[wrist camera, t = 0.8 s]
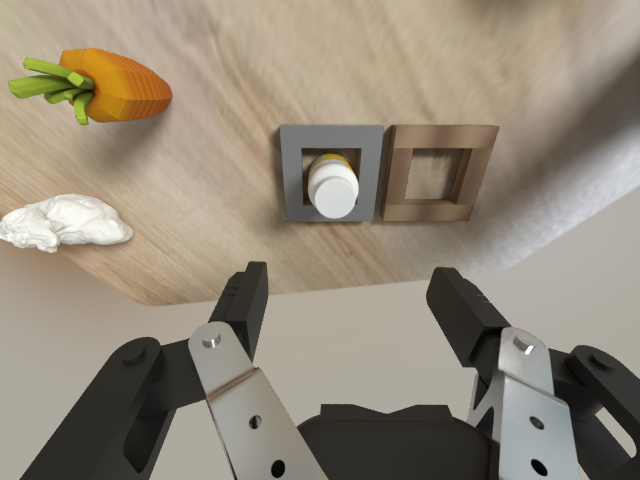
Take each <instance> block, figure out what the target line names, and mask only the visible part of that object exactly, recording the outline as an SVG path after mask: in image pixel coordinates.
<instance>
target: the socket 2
mask: <svg viewBox="0 0 640 480" xmlns="http://www.w3.org/2000/svg"><path fill="white" fill-rule="evenodd" d="M499 127H500V126H493V125H392V127H391V135H390V143H389V150H388V158H387V165H386V173H385V180H384V188H383V195H382V203H381V211H380V216H381V218H382V220H383V221H469V219H470V216H471V212H472V209H473V206H474V203H475V200H476V197H477V194H478V191H479V188H480V185H481V182H482V179H483V176H484V173H485V170H486V167H487V164H488V161H489V158H490V155H491V152H492V149H493V145H494V142H495V139H496V136H497V133H498V130H499ZM413 148H463V151H462V155H461V158H460V162H459V166H458V169H457V173H456V177H455V180H454V184H453V188H452V191H451V195H450V199H435V200H404V198H405V192H406V187H407V181H408V175H409V170H410V164H411V159H412V153H413Z"/></svg>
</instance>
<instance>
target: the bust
mask: <svg viewBox="0 0 640 480" xmlns="http://www.w3.org/2000/svg"><path fill="white" fill-rule="evenodd" d="M132 235H133V230H132V228H130V227H129V226H128V225H127V224H126V223H124V222H123V221H122V220H121V219H120V218H119V215H118V213H117V212H116V210H115V209H114V208H112V207H110V206H108V205H107V204H106V203H104V202H103V201H101V200H99V199H97V198H93V197H90V196H84V195H81V194H65V195H57V196H55V197H53V198H48V199H46V200H44V201H42V202H38V203H35V204H27V205H25V206H24V208H20V209H17V210H14V211H12V212H10V213H9V214H7V215H6V216H4V217H3V219H2V221H1V222H0V239H4V240H6V241H8V242H12V243H13V245H15V246H17V247H20V248H27V247H29V248H33V247H38V249H40V250H41V251H47V252H49V253H52V252H56V251H57V246H58V245H60V243H64V244H69V245H72V244H86V243H92V242H93V243H95V244H100V245H110V244H117V243H121V242H125V241H127V240H129V239H130V238H131V237H132Z"/></svg>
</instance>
